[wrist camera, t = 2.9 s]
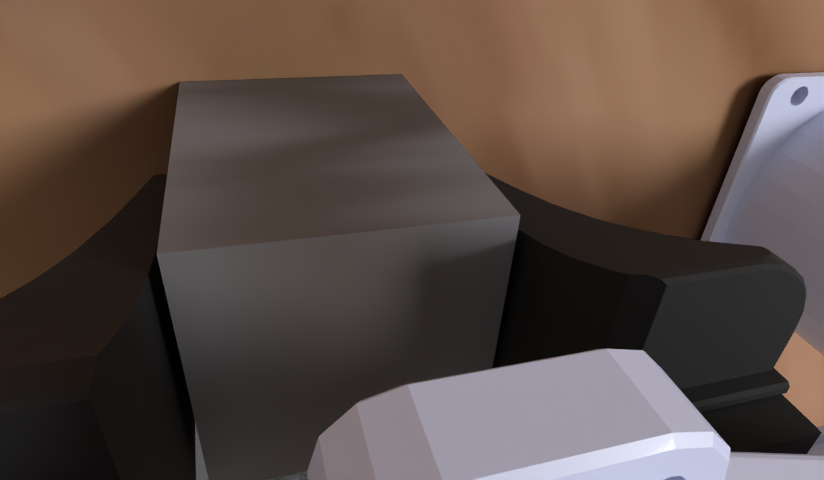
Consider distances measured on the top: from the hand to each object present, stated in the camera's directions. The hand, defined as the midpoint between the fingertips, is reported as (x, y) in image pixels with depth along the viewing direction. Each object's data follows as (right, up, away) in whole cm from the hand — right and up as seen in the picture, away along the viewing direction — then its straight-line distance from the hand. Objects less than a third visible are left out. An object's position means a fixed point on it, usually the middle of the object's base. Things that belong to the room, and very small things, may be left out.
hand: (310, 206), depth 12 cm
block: (0, +1, +1) cm, 1 cm away
